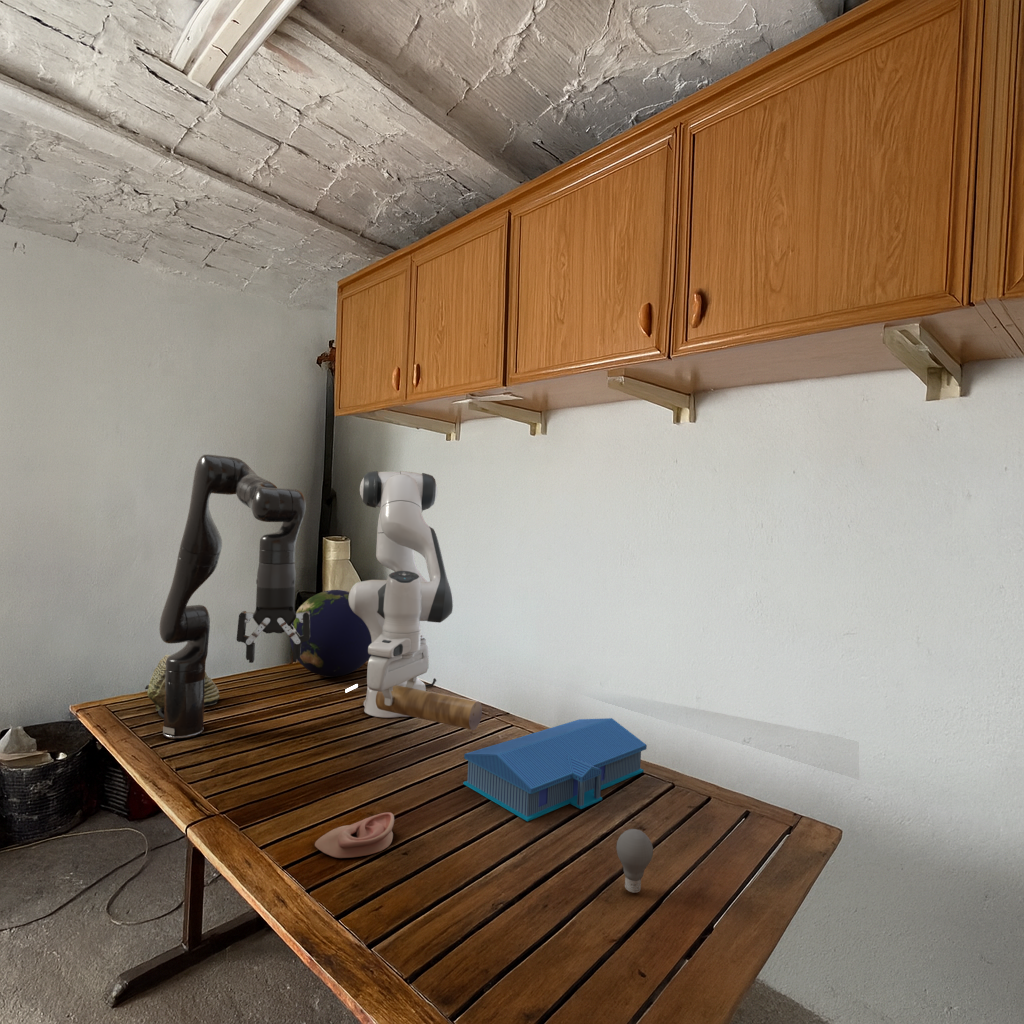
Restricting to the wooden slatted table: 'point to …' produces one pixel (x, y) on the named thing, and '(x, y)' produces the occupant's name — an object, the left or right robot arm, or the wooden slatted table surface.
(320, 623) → the globe
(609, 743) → the model building
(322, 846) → the anatomical model
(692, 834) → the wooden slatted table surface
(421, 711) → the rod
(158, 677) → the fossil
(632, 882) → the light bulb
